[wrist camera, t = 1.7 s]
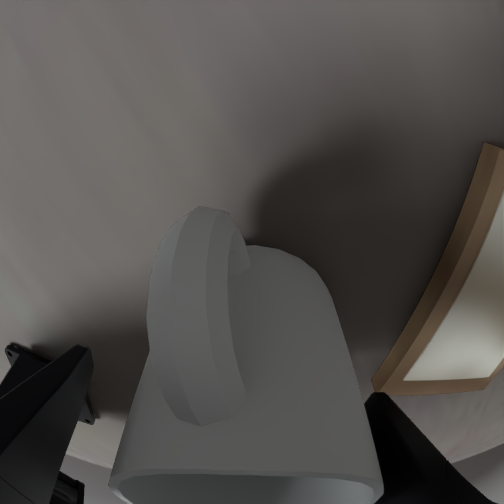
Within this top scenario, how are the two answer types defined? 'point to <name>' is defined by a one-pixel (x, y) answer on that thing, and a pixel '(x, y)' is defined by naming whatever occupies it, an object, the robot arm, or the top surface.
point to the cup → (243, 381)
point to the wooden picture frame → (458, 301)
